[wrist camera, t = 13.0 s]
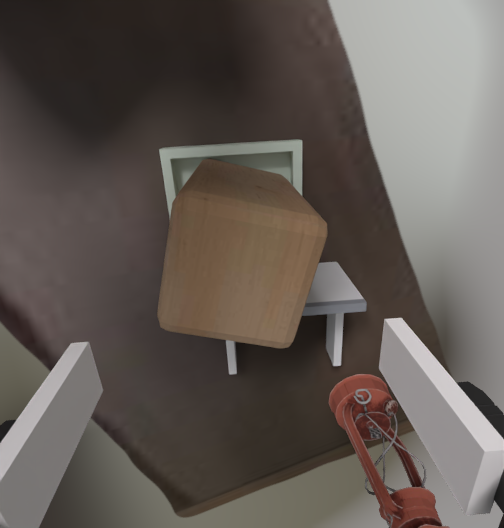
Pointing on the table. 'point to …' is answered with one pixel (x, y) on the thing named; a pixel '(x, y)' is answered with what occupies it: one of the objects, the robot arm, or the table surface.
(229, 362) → the dock
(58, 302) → the table surface
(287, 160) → the tray
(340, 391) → the lantern
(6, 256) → the table surface
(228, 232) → the wooden block
